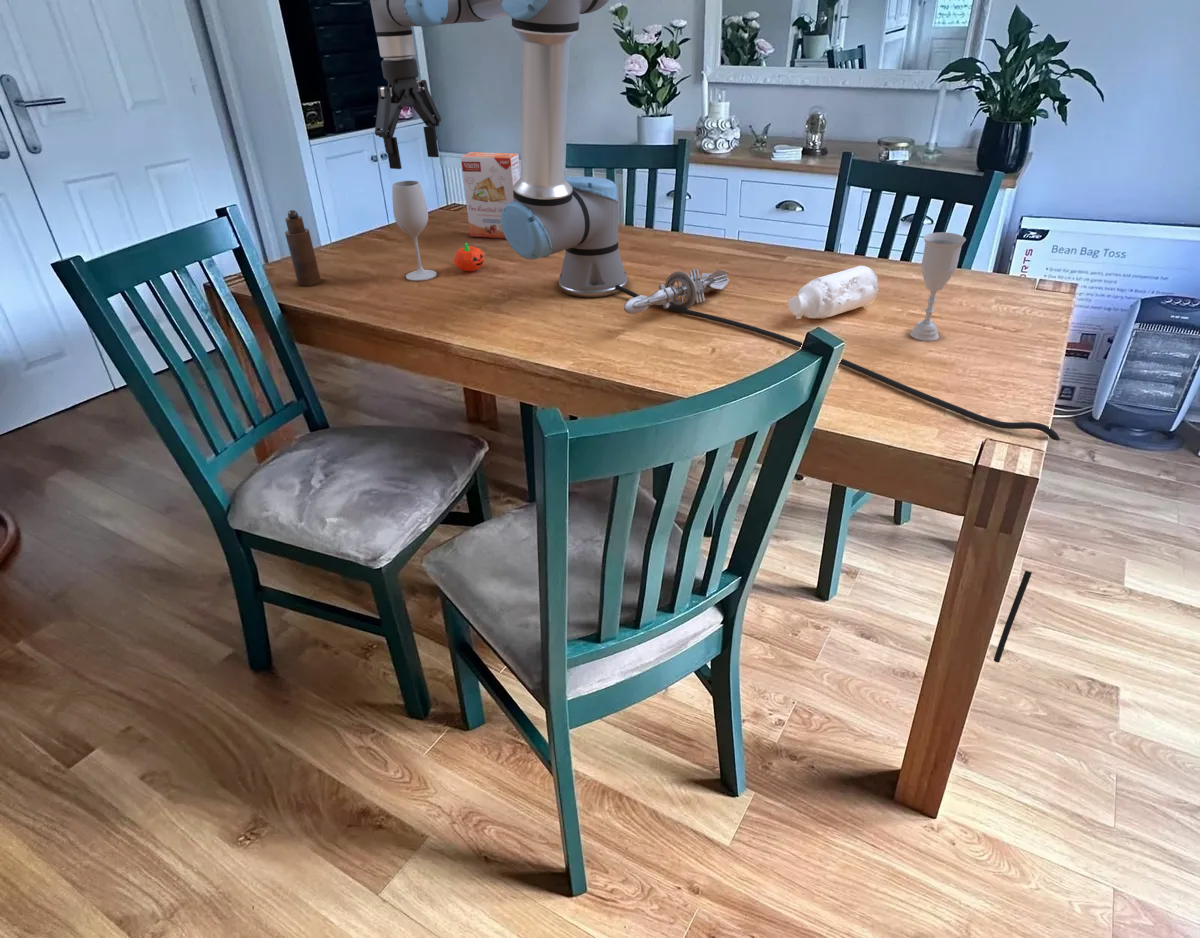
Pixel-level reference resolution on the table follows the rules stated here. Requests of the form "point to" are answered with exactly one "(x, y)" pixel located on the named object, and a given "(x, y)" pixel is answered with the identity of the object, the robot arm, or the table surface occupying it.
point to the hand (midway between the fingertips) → (415, 162)
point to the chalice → (937, 275)
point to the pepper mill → (301, 251)
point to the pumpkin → (469, 258)
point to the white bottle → (835, 293)
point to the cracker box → (488, 190)
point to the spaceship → (679, 291)
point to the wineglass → (411, 218)
